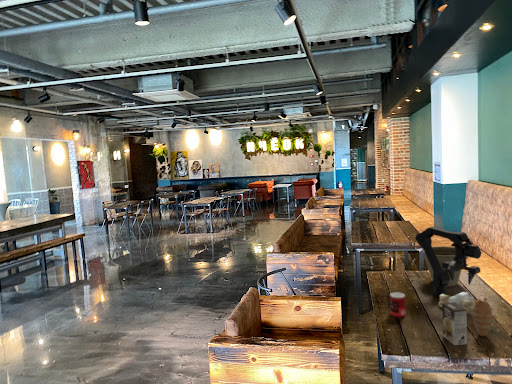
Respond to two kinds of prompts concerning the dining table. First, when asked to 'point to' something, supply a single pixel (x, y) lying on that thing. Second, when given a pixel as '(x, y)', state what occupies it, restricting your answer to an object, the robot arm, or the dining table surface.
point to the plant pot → (443, 256)
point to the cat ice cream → (482, 316)
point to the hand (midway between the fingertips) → (460, 282)
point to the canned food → (397, 304)
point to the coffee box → (454, 323)
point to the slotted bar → (459, 298)
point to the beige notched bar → (464, 303)
